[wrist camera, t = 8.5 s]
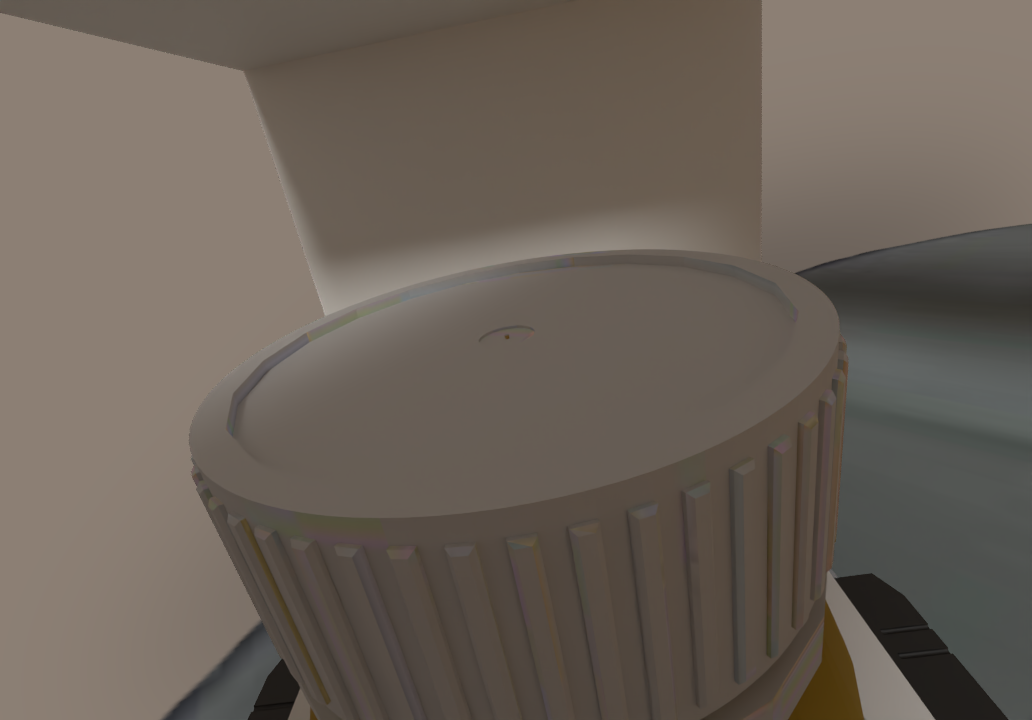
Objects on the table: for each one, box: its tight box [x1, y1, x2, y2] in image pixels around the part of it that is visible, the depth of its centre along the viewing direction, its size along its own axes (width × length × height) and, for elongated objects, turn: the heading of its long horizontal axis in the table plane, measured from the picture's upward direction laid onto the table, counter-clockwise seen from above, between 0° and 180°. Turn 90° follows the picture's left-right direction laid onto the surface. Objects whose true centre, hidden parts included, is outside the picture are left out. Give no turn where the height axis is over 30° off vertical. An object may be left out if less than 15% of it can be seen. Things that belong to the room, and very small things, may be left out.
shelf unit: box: [0, 0, 838, 578], centre depth 23 cm, size 16×24×30 cm, turn 90°
